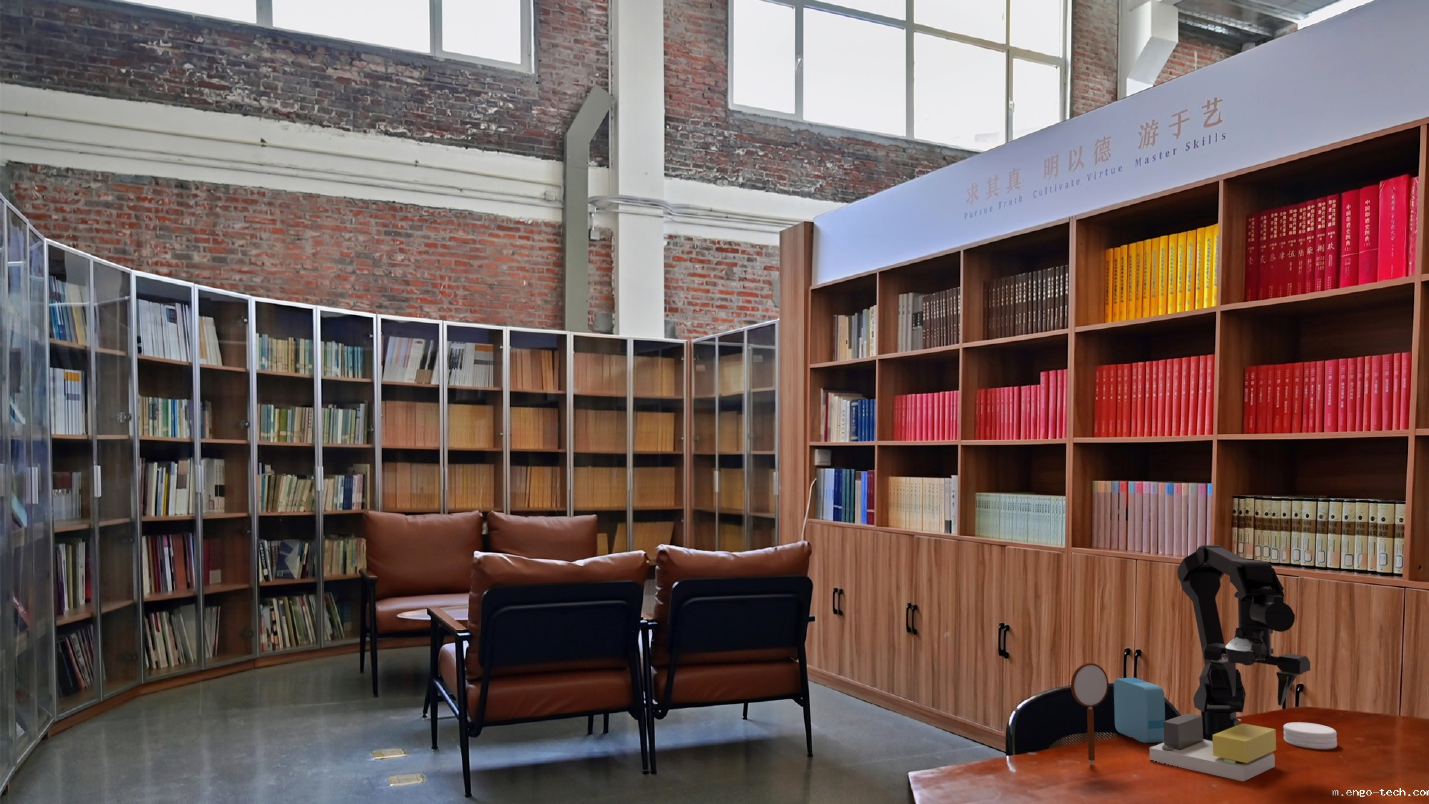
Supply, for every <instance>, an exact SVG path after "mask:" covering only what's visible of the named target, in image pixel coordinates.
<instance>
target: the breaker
mask: <svg viewBox="0 0 1429 804" xmlns="http://www.w3.org/2000/svg"><path fill="white" fill-rule="evenodd" d="M1163 723H1164V742H1163V743H1164V745H1168V746H1172V747H1173V749H1176V750H1182V749H1185V748H1187V747H1190V746H1192V745H1195V744H1197V743H1200V742H1202V741H1203V740H1204V739H1203V724H1202V716H1201V714H1200V715H1199V714H1195V713H1194V714H1193V713H1189V712H1187V713H1185V714H1182V715H1179V716H1176V717H1173V718H1170V719H1167V720H1165V721H1164V722H1163Z"/></svg>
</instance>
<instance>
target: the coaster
mask: <svg viewBox="0 0 1429 804" xmlns="http://www.w3.org/2000/svg"><path fill="white" fill-rule="evenodd" d="M1282 728H1283V741H1284V742H1286V743H1288V744H1290V745H1292V746H1296V747H1300V748H1306V749H1314V750H1329V749H1330V750H1331V749H1336V748H1337V746H1338V738H1337V737H1338V736H1337V735H1338V734H1337V731H1336V729H1334V728H1332V727H1330V726H1326V725H1323V724H1319V723H1311V722H1301V721H1300V722H1299V721H1298V722H1295V721H1294V722H1287V723H1285V724H1283V726H1282Z"/></svg>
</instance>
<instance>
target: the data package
mask: <svg viewBox="0 0 1429 804" xmlns="http://www.w3.org/2000/svg"><path fill="white" fill-rule="evenodd" d="M1113 699H1114V700H1113V701H1114V703H1113V705H1114V706H1113V708H1114V727H1115V729H1116V731H1117V732H1118V733H1119V734H1121V735H1124V736H1126V737H1129V738H1131V737H1133V738H1135V739H1136V740H1135V739H1134V740H1135V741H1137V742H1140V743H1142V742H1143V744H1155V743H1157V744H1161V743H1164V723H1163V722H1164V721H1166V712H1165V711H1166V707H1165V692H1164V689H1163V687H1161V686H1160V685H1157V684H1155V683H1150V682H1148V681H1145V680H1142V679H1140V678H1136V677H1121V678H1115V680H1114V682H1113ZM1133 738H1132V739H1133Z"/></svg>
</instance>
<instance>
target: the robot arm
mask: <svg viewBox="0 0 1429 804" xmlns="http://www.w3.org/2000/svg"><path fill="white" fill-rule="evenodd" d="M1176 573H1177V579H1178V581H1180V586H1181V589H1182V592H1183V593H1185V595H1186V596H1187V597H1188V598H1189V599H1190V601H1191V602H1192V605H1193V610H1194V615H1195V616H1194V617H1195V621H1196V622H1195V623H1196V626H1197V630H1198V637H1199V643H1200V647H1201V653H1202V659H1203V662H1204V663H1203V664H1204V667H1203V669H1202V671H1201V673H1200V675H1199V681H1198V682H1199V686H1198V688H1197V690H1196V692H1195V693H1194V696H1193V698H1192V699H1193V705H1194V708H1195V709H1197V710H1199V711H1200V713H1201V714H1200V716H1202V724H1203V740H1208V741H1213V735H1214V734H1216V733H1219V732H1221V731H1224V730H1227V729H1229V728H1232V727H1235V726H1237V725H1240V721H1239V718H1237V713H1240V714H1241V713H1244V708H1245V701H1246V691H1245V687H1244V685H1243V681H1242V675H1241V672H1240V670H1239V669H1238V668H1237V666H1236V664H1241V665H1243V666H1247V667H1248V666H1249V667H1250V666H1252V665H1254V664H1255V663H1257V664H1264V665H1268V666H1269V665H1270V666H1274V667H1275V666H1276V667H1277V669H1279V670H1280V671H1277V672H1276V673H1275V674H1276V677H1277V704H1278V706H1283V705H1284V702H1285V701H1286V698H1287V696H1288V694H1289V692H1290V691H1289V690H1290V689H1291V687H1292V684H1293V683H1294V682H1295V680H1296V678H1297V676H1300V675H1303V674H1304V673H1307V672H1309V671H1311V661H1310V659H1309V657H1307V656H1306V655H1302V654H1301V655H1300V654H1294V653H1285V654H1281V655H1279V656H1277V655H1274V648H1273V647H1271V646H1272V643H1271V635H1272V634H1273V633H1274V631H1275V632H1278V633H1283V632H1286V631H1289V630H1290V629H1291V628H1292V627H1293V626H1294V623H1295V619H1296V615H1295V613H1294V610H1293V609H1292V607H1291V606H1290V605H1288V604H1287V603H1285V600H1284V599H1285V593H1284V590H1285V589H1284V586H1283V584H1282V583H1281V581H1280V579H1279V577H1278V575H1277V572H1276V570H1275V568H1274V567H1273V565H1272V564H1271V563H1270V562H1269V561H1267V560H1265V561H1264V560H1255V559H1246V558H1244V557H1242V556H1240V555H1238V554H1236V553H1234V552H1231V551H1230V550H1227V549H1226V547H1224V546H1221V545H1218V544H1217V545H1215V544H1213V545H1211V544H1208V545H1207V544H1205V545H1203V544H1202V545H1201V546H1198V547H1197V549H1196V551H1194V552H1192V553H1190V554H1189V555H1187V556H1185V557H1184V558H1183V559H1182V560H1181V562H1180V564H1179V565H1178V567H1177V572H1176ZM1224 575H1227V576H1229V582H1230V584H1232V585H1233V587H1234V588H1235V589H1236V591H1235V593H1234V595H1233V597H1234V598H1235V599H1237V616H1238V617H1237V619H1238V626H1237V627H1236V628H1235V631H1234V632H1235V633H1234V634H1235V635H1234V637H1233V638H1232V639H1231V640H1230V641H1229V642H1228V643H1226V642H1225V639H1224V634H1223V630H1222V629H1223V628H1222V624H1221V623H1222V622H1221V619H1220V615H1219V614H1220V613H1219V609H1218V604H1217V600H1216V599H1217V598H1216V597H1217V596H1218V592H1219V591H1220V589H1221V587H1222V585H1221V580H1222V578H1223V576H1224Z"/></svg>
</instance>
